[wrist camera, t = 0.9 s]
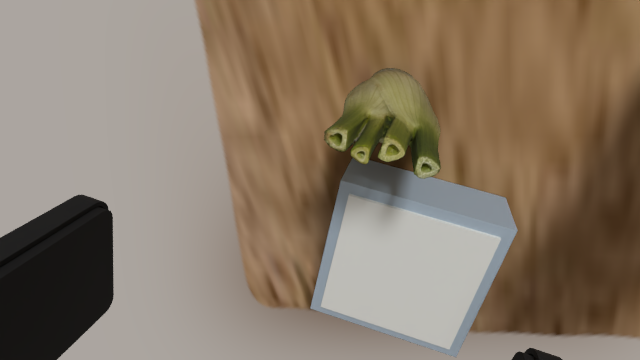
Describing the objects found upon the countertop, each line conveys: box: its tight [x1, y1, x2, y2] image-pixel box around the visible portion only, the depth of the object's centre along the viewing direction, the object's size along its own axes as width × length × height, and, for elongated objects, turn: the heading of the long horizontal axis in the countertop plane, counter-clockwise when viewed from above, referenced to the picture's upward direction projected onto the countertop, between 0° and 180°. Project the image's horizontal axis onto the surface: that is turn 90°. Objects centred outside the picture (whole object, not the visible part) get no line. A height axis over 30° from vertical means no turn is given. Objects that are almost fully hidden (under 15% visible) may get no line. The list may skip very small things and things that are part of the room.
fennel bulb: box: [324, 68, 441, 179], centre depth 25 cm, size 6×5×12 cm
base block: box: [310, 157, 517, 357], centre depth 32 cm, size 12×12×5 cm
